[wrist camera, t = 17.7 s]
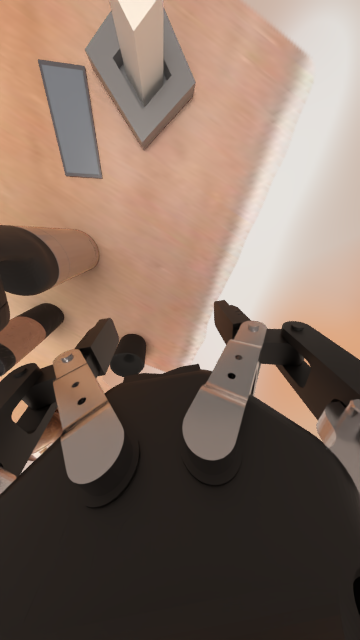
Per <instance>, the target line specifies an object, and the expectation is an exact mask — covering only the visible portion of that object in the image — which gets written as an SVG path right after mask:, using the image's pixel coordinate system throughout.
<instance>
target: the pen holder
mask: <svg viewBox="0 0 360 640" xmlns="http://www.w3.org/2000/svg"><path fill="white" fill-rule="evenodd" d="M145 353H146V343H145V341H144V339H143V338H142V337H140V336H138V335H135V334H129V335H126V336H124V337H123V338H122V339H121V340H120V342H119V344H118V346H117V348H116V350H115V352H114V355H113V357H112V360H111V362H110V367H111V370H112V371H113V372H114V373H115V374H117V375H119V376H122V377H125V376H129V375H135V374H139V373H140V372H141V370H142V369H143V368H144V364H145Z"/></svg>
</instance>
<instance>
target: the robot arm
mask: <svg viewBox="0 0 360 640" xmlns="http://www.w3.org/2000/svg"><path fill="white" fill-rule="evenodd" d="M98 260H99V251H98V248H97V246H96V244H95V242H94V241H93V239H92V238H91V237H90V236H88V235H87V234H86V233H84V232H82V231H79V230H74V229H60V228H43V227H24V226H7V225H0V331H2V330H3V329H4V328H5V327H6V326H7V325H8V323H9V320H10V311H9V306H8V302H7V298H6V294H5V291H6V292H9V293H12V294H16V295H23V296H29V295H36V294H39V293H42V292H44V291H46V290H48V289H50V288H52V287H54V286H56V285H59V284H60V283H63V282H65V281H67V280H69V279H71V278H73V277H75V276H77V275H79V274H81V273H84V272H86V271H88V270H90V269H92V268H93V267H95V266H96V264H97V262H98ZM214 320H215V325H216V328H217V329H218V331H219V333H220V335H221V337H222V338H223V340H224V341H225V343H226V347H225V349H224V351H223V353H222V355H221V357H220V358H219V360H218V362H217V364H216V366H215V368H214V370H213V372H212V371H208V370H201V369H200V367H199V364H196V365H189V366H183V367H179V368H177V369H174V370H171V371H169V372H166V373H163V374H149V373H142V374H135V375H129V376H125V377H124V381H123V383H121V384H119V385H117V386H115V387H113V388H111V389H110V390H109V391H107V392H106V393H105V394H104V392H103V390H102V388H101V387H100V385H99V383H98V381H97V380H96V378H97V376H102V375H105V374H106V372H107V369H108V367H109V365H110V362H111V360H112V357H113V355H114V352H115V350H116V348H117V345H118V343H119V336H118V333H117V331H116V328H115V326H114V323H113V321H112V319H111V318H107V319H101V320H99V321H98V323H97V324H96V325H95V327H93V328H92V329H90V330H89V331H88V332H87V333H86V335H85V336H84V337H83V338H82V340H81V341H80V342H79V344H78V345H77V346H76V347H75V349H73V350H69V351H66V352H64V353H62V354H60V355H59V356H58V357H57V358H55V360H54V361H53V365H50V366H47V367H44V368H41V369H40V368H39V367H38V366H37V364H35V363H30V364H26V365H23V366H21V367H19V368H17V369H15V370H13V371H12V372H11V373H9V374H8V375H7V376H6V377H5V378H4V379H3V380H2V381H1V382H0V640H360V360H359V359H358V358H356V357H354V356H353V355H352V354H350V353H349V352H347V351H346V350H344V349H343V348H341V347H340V346H338V345H337V344H335V343H334V342H333V341H331V340H330V339H328V338H327V337H325V336H324V335H322V334H321V333H320V332H318V331H316V330H315V329H314V328H312V327H311V326H309V325H307V324H305V323H301V322H296V321H295V322H294V321H291V322H290V321H289V322H285V323H284V324H283V325H282V329H267V327H266V326H265V325H264V324H263V323H261V322H258V321H251V320H250V319H249V318H248V317H247V316H246V315H245V314H243V312H242V311H241V310H240V309H239V308H238V307H235V306H233V305H229V304H228V303H227V302H226V301H225V300H222V301H215V302H214ZM304 358H305V359H306V360H307V361H308V362H309V364H310V366H309V365H307V363H306V362H305V361H304ZM261 364H274V365H276V367H277V368H278V369H279V370H280V372H281V373H282V374H283V375H284V377H285V378H286V379H287V381H288V382H289V383H290V385H291V386H292V387H293V389H294V390H295V391H296V393H297V394H298V395H299V396H300V398H301V399H302V400H303V402H304V403H305V404H306V406H307V407H308V408H309V410H310V411H311V412H312V413H313V415H314V416H315V417H316V419H317V420H318V422H317V431H318V434H319V436H320V437H321V439H322V441H323V442H322V441H321V440H319V439H318V438H317V437H316V436H314V435H313V434H311V433H310V432H309V431H307V430H305V429H304V428H302V427H301V426H299V425H298V424H296V423H295V422H293V421H291V420H290V419H288V418H286V417H285V416H284V415H282V414H280V413H279V412H277V411H276V410H274V409H273V408H271V407H270V406H268V405H267V404H265V403H263V402H262V401H260V400H259V399H257V398H256V397H254V392H255V388H256V383H257V379H258V374H259V370H260V365H261ZM21 400H23V401H24V402H25V403H26V404H27V405H28V408H27V409H26V411H25V412H24V413H23V415H22V416H21V418H20V419H19V420H18V422H17V423H15V422H13V421H12V418H11V415H12V412H13V410H14V408H15V407H16V406H17V405H18V403H19V402H20V401H21ZM57 407H58V410H59V415H60V420H61V425H62V430H63V433H62V434H61V436H60V437H59V438H58V439H57V440H56V441H55V442H54V443H53V444H52V445H51V446H49V447H48V448H47V449H46V450H45V451H44V452H43V453H42V454H41V455H40V456H39V457H38V458H37V459H36V460H35V461H34V462H33V463H32V464H31V465H30V466H29V467H28V468H27V469H26V470H25V471H24V472H23V473H21V472H22V470H23V468H24V466H25V464H26V463H27V461H28V459H29V457H30V456H31V454H32V452H33V450H34V448H35V447H36V445H37V443H38V441H39V439H40V438H41V436H42V434H43V432H44V430H45V429H46V427H47V425H48V423H49V421H50V420H51V418H52V416H53V414H54V412H55V411H56V409H57Z"/></svg>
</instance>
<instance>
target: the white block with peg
mask: <svg viewBox="0 0 360 640" xmlns="http://www.w3.org/2000/svg"><path fill="white" fill-rule="evenodd" d="M109 2H110V6H111V11H112V15H113V19H114V24H115V28H116V32H117V37H118V41H119V45H120V50H121V54H122V58H123V63H124V67H125V71H126V75H127V77H128V78H129V80H130V82H131V84H132V86H133V87H134V89H135V91H136V93H137V95H138V96H139V98H140V100H141V102H142V103H143V105H144V107H145V106H146V105H147V104H148V102H149V101H150V100H151V99H152V98H153V97H154V95H155V94H156V93H157V92H158V91H159V89H160V88H161V87H162V86H163V0H109Z"/></svg>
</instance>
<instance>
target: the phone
mask: <svg viewBox="0 0 360 640" xmlns="http://www.w3.org/2000/svg"><path fill="white" fill-rule="evenodd" d="M38 63H39V67H40V71H41V75H42V79H43V83H44V88H45V92H46V96H47V100H48V104H49V108H50V113H51V117H52V121H53V125H54V129H55V133H56V137H57V142H58V146H59V150H60V154H61V158H62V162H63V167H64V171H65V175H66V176H71V177H86V178H100V179H102V173H101V166H100V160H99V153H98V147H97V141H96V134H95V128H94V121H93V115H92V108H91V102H90V95H89V89H88V83H87V76H86V70H85V66H80V65H74V64H67V63H60V62H53V61H46V60H39V59H38Z"/></svg>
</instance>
